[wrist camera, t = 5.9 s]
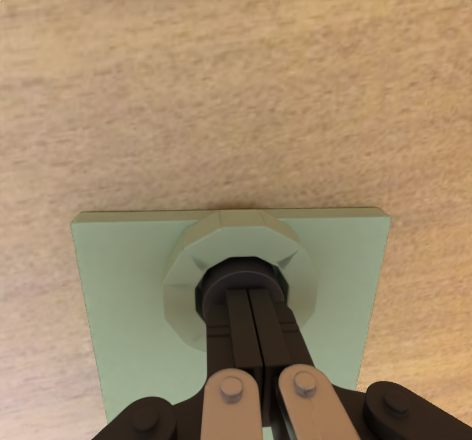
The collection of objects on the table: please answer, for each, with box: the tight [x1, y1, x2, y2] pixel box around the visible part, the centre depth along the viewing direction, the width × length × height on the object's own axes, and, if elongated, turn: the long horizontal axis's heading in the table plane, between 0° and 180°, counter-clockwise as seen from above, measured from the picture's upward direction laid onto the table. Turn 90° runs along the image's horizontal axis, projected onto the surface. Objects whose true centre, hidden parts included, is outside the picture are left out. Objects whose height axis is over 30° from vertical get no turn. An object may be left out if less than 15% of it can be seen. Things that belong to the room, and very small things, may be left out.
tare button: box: [202, 256, 284, 320], centre depth 13 cm, size 3×3×2 cm
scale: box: [70, 207, 392, 440], centre depth 16 cm, size 16×13×3 cm
